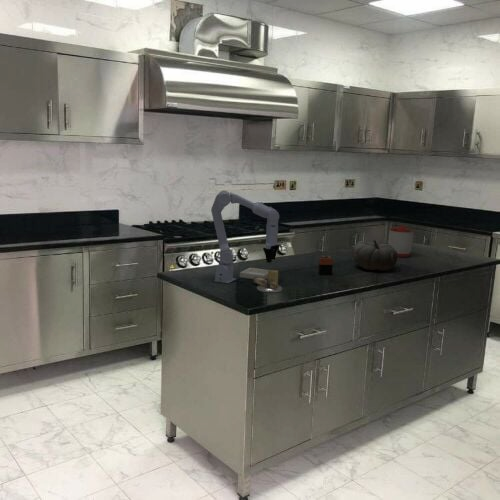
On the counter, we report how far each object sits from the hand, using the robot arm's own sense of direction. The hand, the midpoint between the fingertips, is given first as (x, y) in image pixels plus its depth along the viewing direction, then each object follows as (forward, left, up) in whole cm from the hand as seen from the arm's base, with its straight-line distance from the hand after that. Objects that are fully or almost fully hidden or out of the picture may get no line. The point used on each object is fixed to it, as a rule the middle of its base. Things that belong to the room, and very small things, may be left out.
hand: (270, 260), depth 270 cm
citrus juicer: (+107, -49, -11) cm, 118 cm away
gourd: (+59, -41, -11) cm, 73 cm away
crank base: (-14, -5, -10) cm, 18 cm away
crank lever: (-13, -2, -9) cm, 16 cm away
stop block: (-2, -2, -10) cm, 11 cm away
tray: (+6, +10, -10) cm, 15 cm away
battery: (+30, -20, -11) cm, 38 cm away
